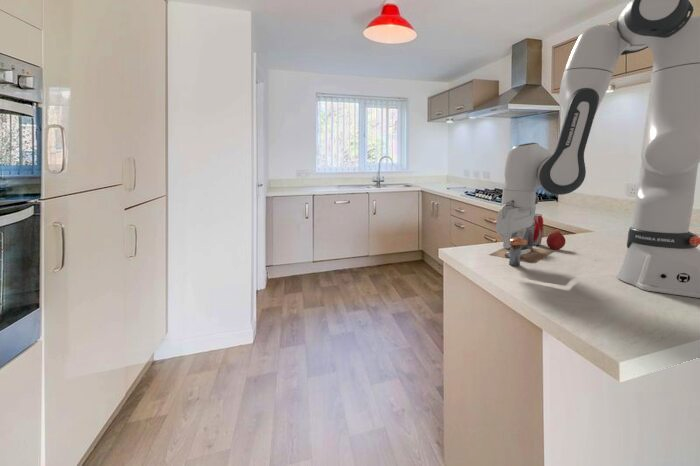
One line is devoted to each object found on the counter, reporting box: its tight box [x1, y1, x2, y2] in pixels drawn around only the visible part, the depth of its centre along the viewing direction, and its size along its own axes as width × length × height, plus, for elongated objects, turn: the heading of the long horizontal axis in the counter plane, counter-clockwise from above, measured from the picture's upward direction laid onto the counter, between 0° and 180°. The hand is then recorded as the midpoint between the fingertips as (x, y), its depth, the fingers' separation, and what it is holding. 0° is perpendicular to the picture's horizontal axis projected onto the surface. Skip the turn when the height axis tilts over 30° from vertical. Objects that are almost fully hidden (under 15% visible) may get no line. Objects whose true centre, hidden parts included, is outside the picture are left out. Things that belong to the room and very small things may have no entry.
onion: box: [546, 229, 566, 251], centre depth 124 cm, size 6×6×8 cm
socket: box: [506, 227, 534, 250], centre depth 123 cm, size 7×6×8 cm
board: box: [488, 247, 555, 264], centre depth 119 cm, size 15×20×1 cm
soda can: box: [531, 213, 544, 246], centre depth 135 cm, size 7×7×12 cm
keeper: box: [505, 249, 531, 257], centre depth 114 cm, size 7×5×1 cm
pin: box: [508, 238, 527, 267], centre depth 105 cm, size 6×6×9 cm
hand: (513, 244), depth 105 cm, fingers open, 8 cm apart
